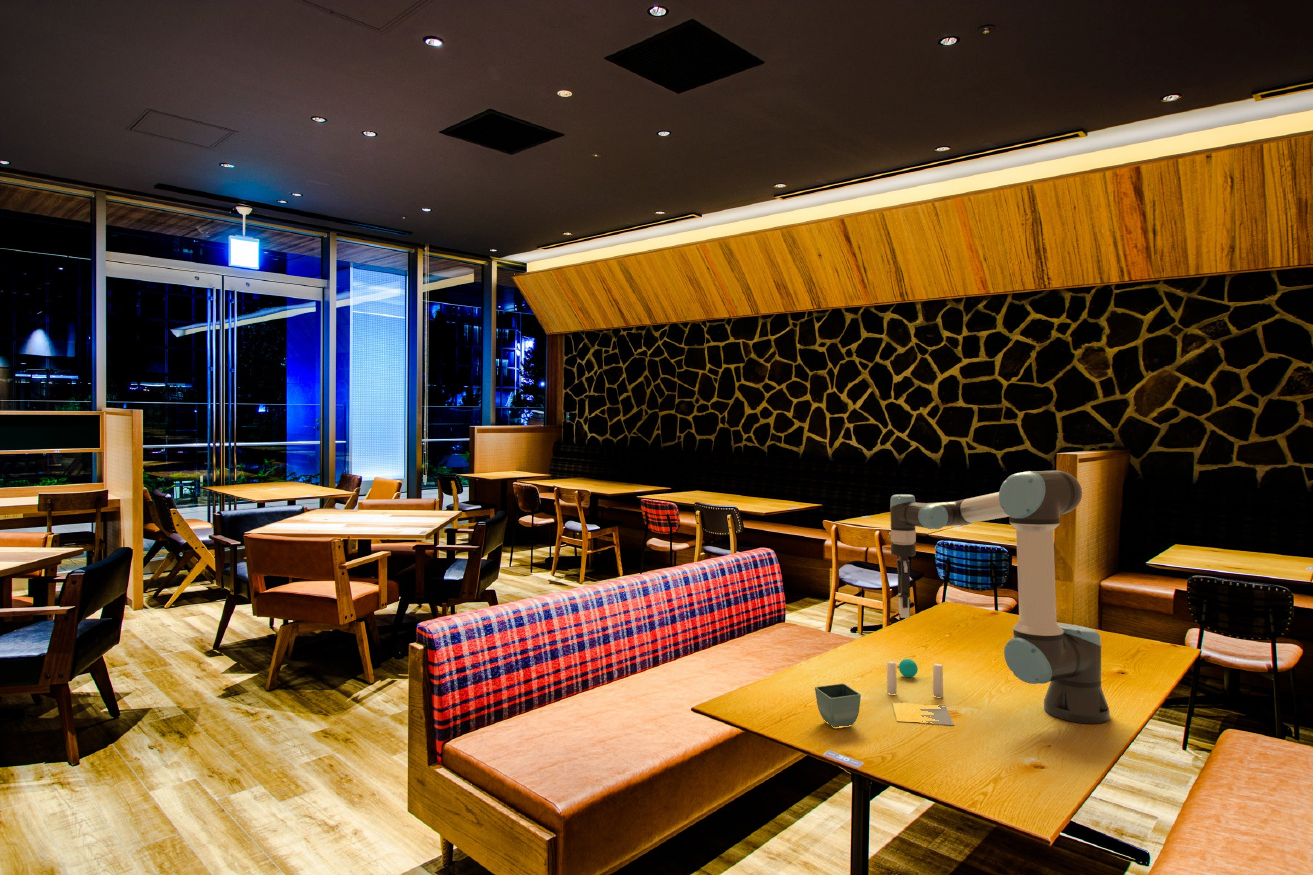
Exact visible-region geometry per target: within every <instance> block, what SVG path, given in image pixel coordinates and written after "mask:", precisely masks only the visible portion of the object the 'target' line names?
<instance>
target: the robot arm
mask: <svg viewBox="0 0 1313 875" xmlns="http://www.w3.org/2000/svg"><path fill="white" fill-rule="evenodd" d="M1082 489H1083V488H1082V486H1081V483H1080V482H1079V481H1078V479H1077V478H1076V477H1074V476H1073V475H1072V474H1070V473H1068V472H1066V471H1062V470H1043V471H1042V470H1041V471H1039V470H1038V471H1036V470H1035V471H1034V470H1033V471H1030V470H1027V471H1023V472H1017V473H1014V474H1011V475H1009V476H1008V477H1007V478H1006V479H1005V480H1004V481H1003V482H1002V484H1001V486H1000V489H999V491H998V492H993V493H989V494H984V495H979V496H975V497H970V498H965V499H960V500H954V501H945V502H944V501H943V502H942V501H941V502H927V503H926V502H916V498H915V495H913V494H893V495H892V496H891V497H890V505H889V506H890V507H889V510H890V511H889V512H890V532H888V535H889V536H890V541H891V544H890V553H891V555H892V556H894V557H895V556H896V557H898V559H897V560H896V561H895V562H896V571H897V590H898V591H897V592H898V615H900V618H903V619H910V597H911V566H912V564H911V561H910V560H909V557H914V556H916V554H917V552H916V551H917V550H916V549H917V548H916V546H917V545H916V544H915V543H916V542H917V541H916V539H917V534H916V532H917V530H916V527H918V528H924V529H927V530H940V529H942V528H943V527H944V528H945V527H950V526H951V527H954V526H968V525H971V524H974V523H981V522H985V521H990V520H995V519H996V520H997V519H1002V518H1003V519H1004V518H1007V517H1008V518H1009V524H1010V525H1011V526H1012V527H1013V528H1014V529H1015V532H1016V533H1015V534H1016V537H1015V538H1016V559H1017V560H1016V562H1017V565H1016V566H1017V590H1018V592H1017V594H1018V619H1019V620H1018V622H1017V623H1015V624H1014V625H1013V626H1012V629H1013V630H1012V631H1013V632H1012V634H1013V635H1012V636H1013V638H1011V639H1009V640H1008V641H1007V643H1006V644H1004V649H1003V655H1004V661H1005V663H1006V665H1007V667H1008V669H1009V671H1011V672H1012V673H1013V675H1014V676H1015V677H1016V678H1017V679H1018V680H1020V681H1022V682H1023V683H1026V684H1030V685H1037V684H1040V685H1041V684H1047V683H1049V685H1048V688H1047V690H1046V694H1045V695H1044V699H1043V709H1044V711H1045V712H1046V713H1047V714H1049V715H1051V716H1053V717H1055V718H1058V719H1060V720H1064V721H1068V722H1072V723H1080V724H1086V725H1087V724H1088V725H1089V724H1091V725H1093V724H1103V723H1106V722H1109V720H1110V716H1111V715H1110V708H1109V704H1108V702H1107V699H1106V697H1105V694H1104V690H1103V688H1102V647H1103V646H1102V644H1101V635H1100V633H1099V632H1098V631H1096V630H1095V629H1093V628H1089V627H1087V626H1082V625H1077V624H1070V623H1061V622H1058V621H1057V599H1056V593H1057V592H1056V570H1055V569H1056V568H1055V567H1056V566H1055V565H1056V564H1055V543H1054V542H1055V540H1054V539H1055V534H1054V531H1055V529H1057V527H1059V526H1060V525H1061V519H1060V518H1061V515H1064V514H1068V513H1071V512H1072V511H1074V510H1075V509H1076V508H1077V507H1078V506H1079V505H1080V503H1081V500H1082V499H1083V498H1082V497H1083V490H1082Z"/></svg>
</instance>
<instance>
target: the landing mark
mask: <svg viewBox="0 0 1313 875" xmlns="http://www.w3.org/2000/svg"><path fill="white" fill-rule="evenodd" d="M938 705H939V706H938V707H940V708H941V709H920V710H921V711H928V712H932V713H934V715H921V716H922V717H924V716H926V717H928V718H932V719H935V720H939V721H926V722H928V723H930V722H932V723H934V724H941V725H940V726H948V725H951V726H950V727H954V726H955V724H954V721H953V720H952V717H951V715H950V713H949V711H948V709H947V707H946V705H945V704H938ZM942 706H945V707H942ZM930 716H931V717H930ZM922 722H923V721H922ZM934 724H933V725H934ZM953 725H954V726H953Z"/></svg>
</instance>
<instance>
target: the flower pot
mask: <svg viewBox="0 0 1313 875" xmlns="http://www.w3.org/2000/svg"><path fill="white" fill-rule="evenodd" d="M814 691H815V697H816V704H817V705H816V706H817V709H818V711H819V714H820V716H821V718H822V719H823V721H824V720H825V721H826V722H828V723H829V724H830V725H832V726H833V727H839V726H849V725H852V726H854V725H855V724H854V723H855V722H856V721H857V719H858V716H859V713H860V708H861V706H860V705H861V697H862V694H861V693H860V692H858V691H856V690H855V689H853V688H852V687H850V686H848V685H847V684H846V683H836V684H835V683H834V684H828V685H821V686H815V687H814ZM825 721H824V722H825ZM826 722H825V723H826ZM830 725H829V726H830Z"/></svg>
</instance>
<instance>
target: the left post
mask: <svg viewBox="0 0 1313 875" xmlns="http://www.w3.org/2000/svg"><path fill="white" fill-rule="evenodd" d="M897 686H898V685H897V662H896V661H892V660H891V661H886V694H887V693H890V694H896V693H897V688H898V687H897ZM897 694H898V693H897Z"/></svg>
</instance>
